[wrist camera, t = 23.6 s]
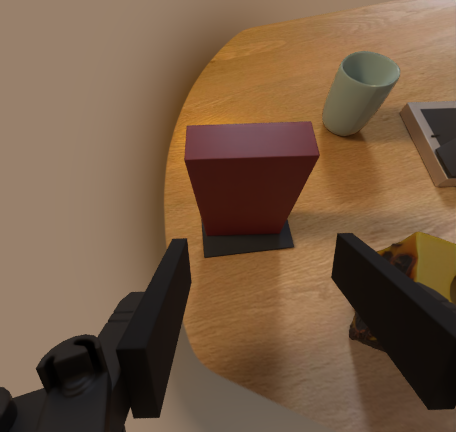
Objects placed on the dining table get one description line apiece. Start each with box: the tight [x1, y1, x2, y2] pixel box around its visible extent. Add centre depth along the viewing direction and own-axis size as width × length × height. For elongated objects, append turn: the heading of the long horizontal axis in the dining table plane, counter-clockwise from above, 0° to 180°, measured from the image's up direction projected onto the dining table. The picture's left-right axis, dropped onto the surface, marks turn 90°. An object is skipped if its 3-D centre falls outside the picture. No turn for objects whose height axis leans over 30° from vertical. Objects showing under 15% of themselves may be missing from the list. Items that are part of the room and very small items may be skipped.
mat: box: [202, 220, 294, 258], centre depth 35 cm, size 20×12×1 cm, turn 7°
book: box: [184, 121, 320, 236], centre depth 25 cm, size 10×4×16 cm, turn 92°
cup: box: [322, 51, 400, 136], centre depth 35 cm, size 8×8×10 cm
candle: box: [349, 232, 456, 352], centre depth 23 cm, size 10×10×10 cm
